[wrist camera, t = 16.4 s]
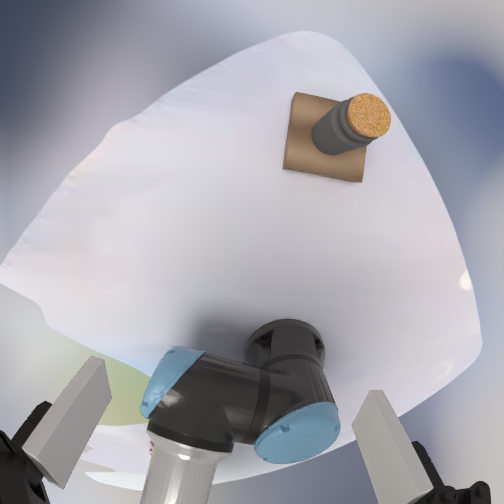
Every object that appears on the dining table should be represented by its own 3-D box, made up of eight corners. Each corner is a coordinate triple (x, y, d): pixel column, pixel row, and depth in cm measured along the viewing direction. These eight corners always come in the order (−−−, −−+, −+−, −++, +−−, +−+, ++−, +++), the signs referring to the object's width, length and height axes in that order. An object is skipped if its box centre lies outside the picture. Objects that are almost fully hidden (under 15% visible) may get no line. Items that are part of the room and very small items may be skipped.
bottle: (352, 126, 36) (399, 102, 22) (343, 160, 38) (389, 151, 23) (316, 112, 36) (349, 79, 21) (306, 147, 37) (337, 129, 23)
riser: (352, 182, 42) (361, 182, 39) (282, 168, 42) (285, 167, 38) (360, 115, 40) (369, 110, 36) (292, 99, 39) (295, 91, 35)
